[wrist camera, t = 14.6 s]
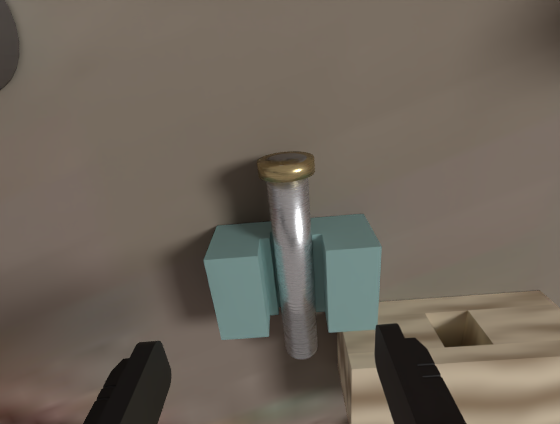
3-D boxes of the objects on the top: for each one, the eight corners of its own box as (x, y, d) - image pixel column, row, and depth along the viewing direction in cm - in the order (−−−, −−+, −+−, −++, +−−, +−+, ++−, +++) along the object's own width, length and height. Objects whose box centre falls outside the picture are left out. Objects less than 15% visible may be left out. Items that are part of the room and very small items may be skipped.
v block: (216, 225, 28) (203, 260, 23) (363, 213, 28) (381, 246, 23) (230, 296, 32) (221, 339, 27) (361, 287, 31) (377, 329, 26)
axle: (254, 156, 24) (260, 171, 20) (306, 148, 24) (321, 162, 21) (277, 334, 31) (284, 368, 28) (316, 326, 32) (328, 358, 28)
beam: (336, 304, 32) (351, 369, 25) (539, 290, 31) (611, 353, 25) (337, 366, 36) (351, 437, 29) (519, 355, 35) (576, 425, 28)
